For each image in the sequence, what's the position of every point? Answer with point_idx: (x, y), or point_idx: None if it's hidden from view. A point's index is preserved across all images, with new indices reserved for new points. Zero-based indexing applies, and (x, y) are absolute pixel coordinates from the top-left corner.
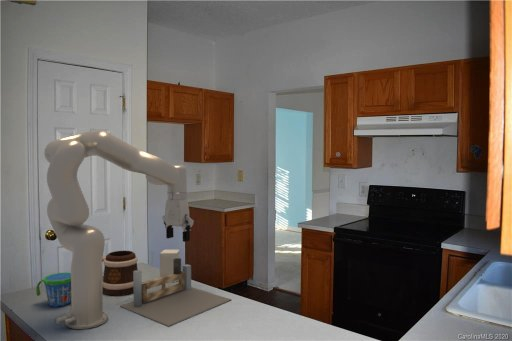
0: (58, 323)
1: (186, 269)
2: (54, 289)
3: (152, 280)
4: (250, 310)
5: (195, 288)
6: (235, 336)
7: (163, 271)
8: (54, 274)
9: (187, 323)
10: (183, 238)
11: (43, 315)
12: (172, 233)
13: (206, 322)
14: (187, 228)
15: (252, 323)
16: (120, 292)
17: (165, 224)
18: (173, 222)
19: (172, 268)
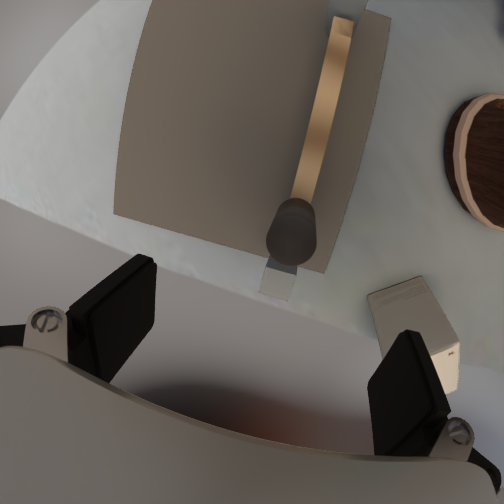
0: None
1: (268, 261)
2: None
3: (334, 68)
4: (58, 178)
5: (260, 255)
6: (40, 62)
7: (420, 299)
8: None
9: (128, 29)
10: (122, 265)
11: None
12: (376, 405)
13: (96, 62)
14: (12, 333)
15: (35, 123)
16: (466, 103)
17: (475, 462)
18: (175, 493)
19: (390, 319)
